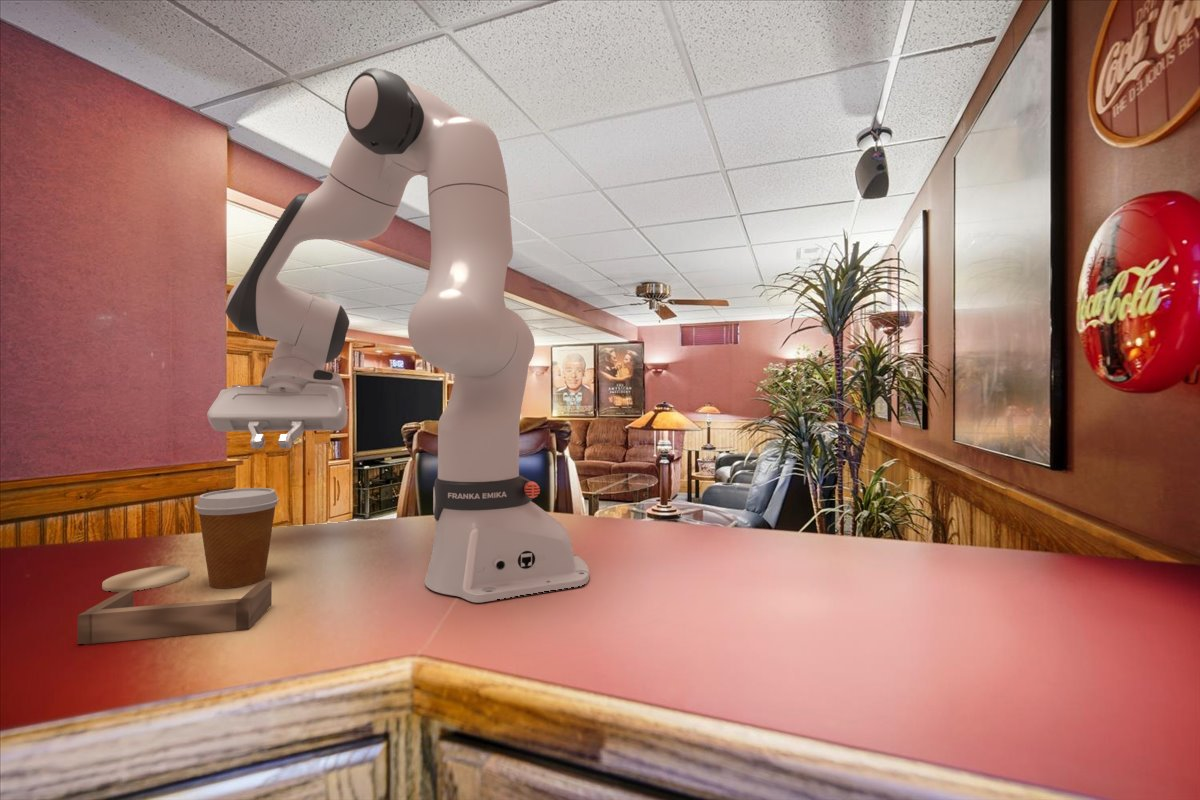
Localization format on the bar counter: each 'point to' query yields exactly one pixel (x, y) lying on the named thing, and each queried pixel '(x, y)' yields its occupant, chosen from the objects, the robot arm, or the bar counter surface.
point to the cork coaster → (145, 578)
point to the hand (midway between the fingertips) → (270, 446)
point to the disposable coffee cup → (236, 534)
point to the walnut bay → (170, 617)
